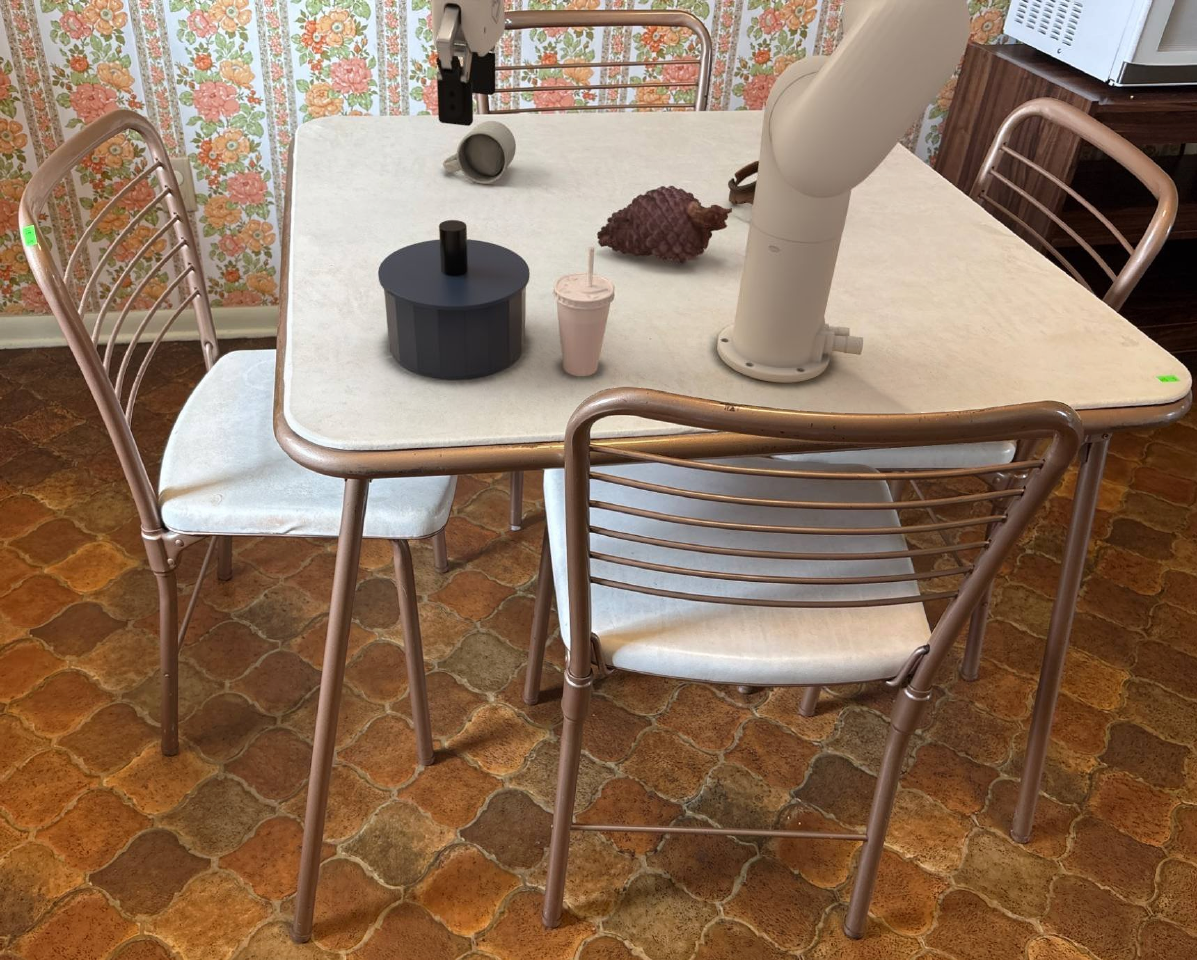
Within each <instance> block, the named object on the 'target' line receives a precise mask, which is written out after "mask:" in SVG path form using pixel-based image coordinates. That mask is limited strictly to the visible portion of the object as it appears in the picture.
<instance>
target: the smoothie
mask: <svg viewBox="0 0 1197 960" xmlns="http://www.w3.org/2000/svg"><path fill="white" fill-rule="evenodd" d="M594 261H595V247H594V246H588V256H587V272H586V273H585V272H575V273H574V272H573V273H568V274H565V275H563V276H560V277H558V279H556V280H555V281H554V284H553V290H552V297H553V298H554V300H555V301H556V308H557V310H556V311H557V318H558V320H557V321H558V328H559V330H558V331H559V338H560V347H561V349H560V350H561V358H562V366H563V367H562V368H563V370H564V371H565V372H566V373H567V374H570V375H572V376H575V377H589V376H591V375H593V374H595V373H596V372H597V371H598V367H599V362H600V358H601V357H600V356H601V352H602V347H603V342H604V337H605V332H606V327H607V322H608V317H609V313H610V308H611V303H612V302H614V300H615V296H616V295H615V291H616V290H615V285H614V283H613V282H612V281H610V280H609V279H608V278H606V277H605V276H601V275H598V274H594V263H595V262H594Z"/></svg>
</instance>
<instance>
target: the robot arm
mask: <svg viewBox="0 0 1197 960" xmlns="http://www.w3.org/2000/svg"><path fill="white" fill-rule="evenodd" d="M430 2H431V3H430V6H431V9H430V10H431V29H432V41H433V45H434V47H435V49H436V51H437V52H436V53H437V57H436V60H435V62H436V65H437V66H436V67H437V68H436V85H437V86H436V87H437V114H438V121H439V122H440V123H441V124H447V125H456V126H466V127H470V126H471V125H472V124H473V122H474V98H473V96H474V95H473V94H477V95H486V96H493V95H494V94H495V93H496V52H495V49H496V45H497V43H498V42H499V41H500V40H501V39H502V37H503V35H504V34H505V30H506V14H505V13H506V12H505V0H430ZM841 14H842V15H841V22H842V30H843V33H844V37H843V38H842V39H841V41H840V42H839V43H838V45H837V47H836V48H835V49H834V50H833V52H832V53H831V54H830V55H822V54H821V55H820V54H819V55H810V56H807V57H803V58H801V59H799V60H796V61H794V62H793V63H792V64H790V65H789V66H787V67H786V68H785V69H784V70H783V71H782V72H781V73H780V74H779V76H778V77H777V78H776V80H775V81H774V82H773V85H772V86H771V89H770V91H769V94H768V96H767V99H766V103H765V106H764V112H763V119H762V127H761V137H760V150H759V156H758V157H759V158H758V161H759V166H758V173H756V175H757V176H756V180H757V182H756V189H755V196H754V202H753V205H752V210H751V214H750V215H751V216H750V221H749V227H748V235H747V241H746V247H745V254H744V259H743V264H742V265H743V266H742V272H741V278H740V283H739V284H740V286H739V292H738V297H737V305H736V313H735V318H734V322H733V323H731V324H729V325H727V326H726V327H725V328H722V330H721V332H720V333H719V334H718V338H717V342H716V343H717V344H716V350H717V354H718V355H719V357H720V359H721V360H722V361H723V362H724V363H725V364H726V365H727V366H729V367H730V368H731V369H733V370H734V371H737V372H738V373H740V374H741V375H744V376H747V377H750V378H752V379H757V380H760V381H764V382H769V383H785V384H787V383H798V382H804V381H807V380H811V379H814V378H816V377H818V376H820V375H821V374H822V373H823V372H825V371H826V369H827V368H828V366H829V362H830V359H831V355H832V353H833V352H838V353H843V354H849V355H859V356H860V355H862V352H863V347H864V338H863V337H862V336H854V335H853V336H852V335H850V327H846V326H831V325H829V323H826V319H825V316H826V311H827V306H828V302H829V297H830V293H831V287H832V282H833V279H834V274H835V270H836V269H835V268H836V265H837V259H838V256H839V252H840V251H839V250H840V247H841V241H842V237H843V236H842V235H843V233H844V229H845V225H846V221H847V216H848V212H849V206H850V200H851V195H852V190H853V189H854V188H856V187H858V186H859V185H860V184H861V183H863V182H864V181H865V180H866V179H867V178H868V177H870V175H871V174H873V173H874V172H875V170H876V169H877V168H878V167H879V166H880V165H881V163H883V161H884V160H885V159H886V158H887V157H888V156H889V155H890V153H891V152H892V151H893V149H894V148H895V147H896V146H897V145H898V144H899V142H900V141H901V140H902V139H903V137H904V136H905V135H906V134H907V133H908V131H909V130H910V129H911V128H912V127H913V126H914V124H915V123H916V121H918V120H919V118H920V117H921V115H922V114H923V113H924V112H925V111H926V110H927V108H928V107H929V106H930V104H931V103H932V102H933V101H934V100H935V98H936V97H937V96H938V95H939V94H940V92H941V91H942V90H943V89H944V87H945V86H946V85H947V83H948V82H949V80H950V79H951V77H952V76H953V74H954V73H955V71H956V70H957V68H958V66H959V64H960V62H961V60H962V58H963V56H964V53H965V52H966V49H967V45H968V42H969V39H970V37H969V36H970V31H971V11H970V7H969V4H968V1H967V0H844V2H843V6H842V13H841ZM459 57H460V58H462V61H461V60H460V59H459Z"/></svg>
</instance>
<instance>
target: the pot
mask: <svg viewBox="0 0 1197 960" xmlns="http://www.w3.org/2000/svg"><path fill="white" fill-rule="evenodd" d="M526 288H527V286H526V287H525V288H524V289H523V291H521V292H520V293H519V294H518V295H516V296H514V297H513V298H511V299H509V300H507V301H505V302H502V303H499V304H496V305H492V306H489V307H484V308H478V309H470V310H436V309H429V308H423V307H419V306H415V305H411V304H408V303H406V302H403V301H400V300H398V299H397V298H395V297H393V296H391V295H390V294H389V293H387V292H386V291H385V290H384V289H383V293H384V305H385V306H384V307H385V316H386V317H385V318H386V327H387V338H388V347H389V352H390V355H391V357H392V358H393V359H394V361H395V362H396V363H397V364H398V365H399V366H401V367H402V368H403V369H405V370H407V371H409V372H411V373H413V374H416V375H418V376H422V377H426V378H429V379H434V380H441V381H468V380H476V379H482V378H487V377H490V376H493V375H496V374H499V373H501V372H503V371H505V370H507V369H509V368H511V367H512V366H513V365H514V364H515V363H517V362H518V361H519V359H520V358H521V357H522V355H523V353H524V350H525V343H526V319H527V318H526V307H527V305H526V304H527V302H526V301H527V300H526V299H527V291H526V290H527V289H526Z"/></svg>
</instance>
